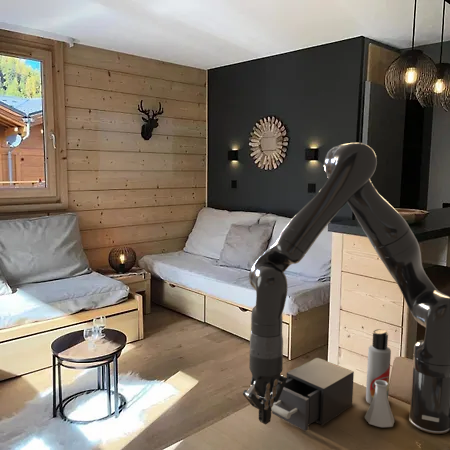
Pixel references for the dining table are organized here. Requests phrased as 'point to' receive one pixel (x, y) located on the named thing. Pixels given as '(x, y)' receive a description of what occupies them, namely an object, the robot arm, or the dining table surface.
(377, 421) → the flask
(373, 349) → the lotion bottle
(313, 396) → the drawer
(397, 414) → the dining table surface
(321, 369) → the cabinet
